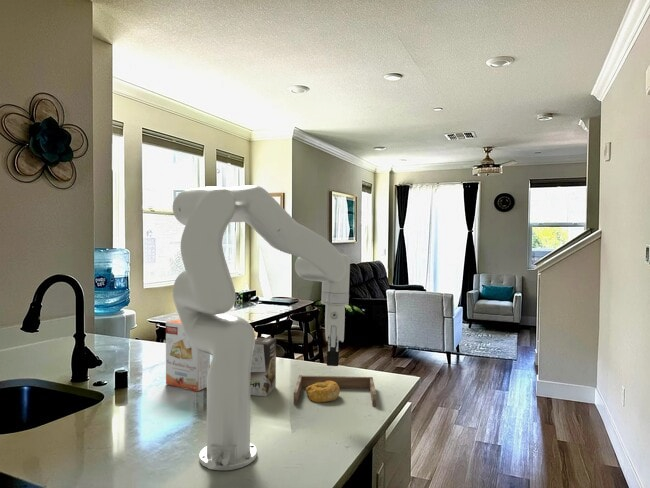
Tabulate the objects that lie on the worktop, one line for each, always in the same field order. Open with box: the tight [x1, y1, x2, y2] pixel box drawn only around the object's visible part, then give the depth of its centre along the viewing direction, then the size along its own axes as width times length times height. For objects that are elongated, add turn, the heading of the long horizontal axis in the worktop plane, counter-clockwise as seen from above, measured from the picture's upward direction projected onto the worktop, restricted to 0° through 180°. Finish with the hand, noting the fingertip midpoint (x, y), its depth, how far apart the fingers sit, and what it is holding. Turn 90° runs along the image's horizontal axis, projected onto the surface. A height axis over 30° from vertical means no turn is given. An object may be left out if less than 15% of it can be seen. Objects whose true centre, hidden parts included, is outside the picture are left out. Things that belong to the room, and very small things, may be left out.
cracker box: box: [165, 318, 211, 392], centre depth 150 cm, size 14×6×21 cm, turn 62°
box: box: [293, 374, 377, 407], centre depth 143 cm, size 16×24×4 cm, turn 88°
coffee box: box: [250, 337, 277, 397], centre depth 146 cm, size 9×6×16 cm
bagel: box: [305, 381, 341, 403], centre depth 142 cm, size 10×11×5 cm
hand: (332, 365), depth 127 cm, fingers closed
